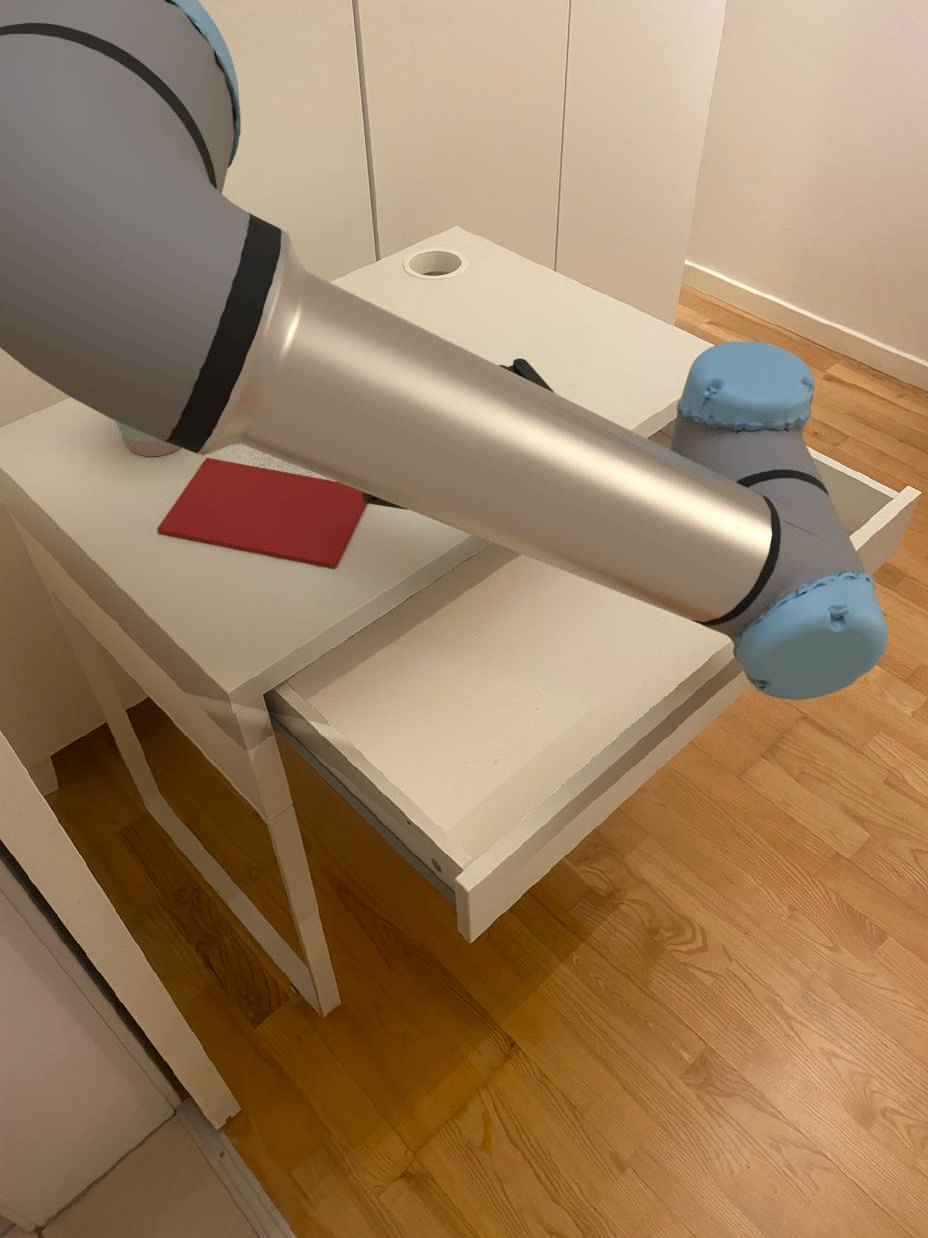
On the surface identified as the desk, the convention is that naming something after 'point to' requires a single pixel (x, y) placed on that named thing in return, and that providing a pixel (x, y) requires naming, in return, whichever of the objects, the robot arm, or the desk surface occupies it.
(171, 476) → the desk surface
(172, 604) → the desk surface
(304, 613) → the desk surface
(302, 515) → the red mat
